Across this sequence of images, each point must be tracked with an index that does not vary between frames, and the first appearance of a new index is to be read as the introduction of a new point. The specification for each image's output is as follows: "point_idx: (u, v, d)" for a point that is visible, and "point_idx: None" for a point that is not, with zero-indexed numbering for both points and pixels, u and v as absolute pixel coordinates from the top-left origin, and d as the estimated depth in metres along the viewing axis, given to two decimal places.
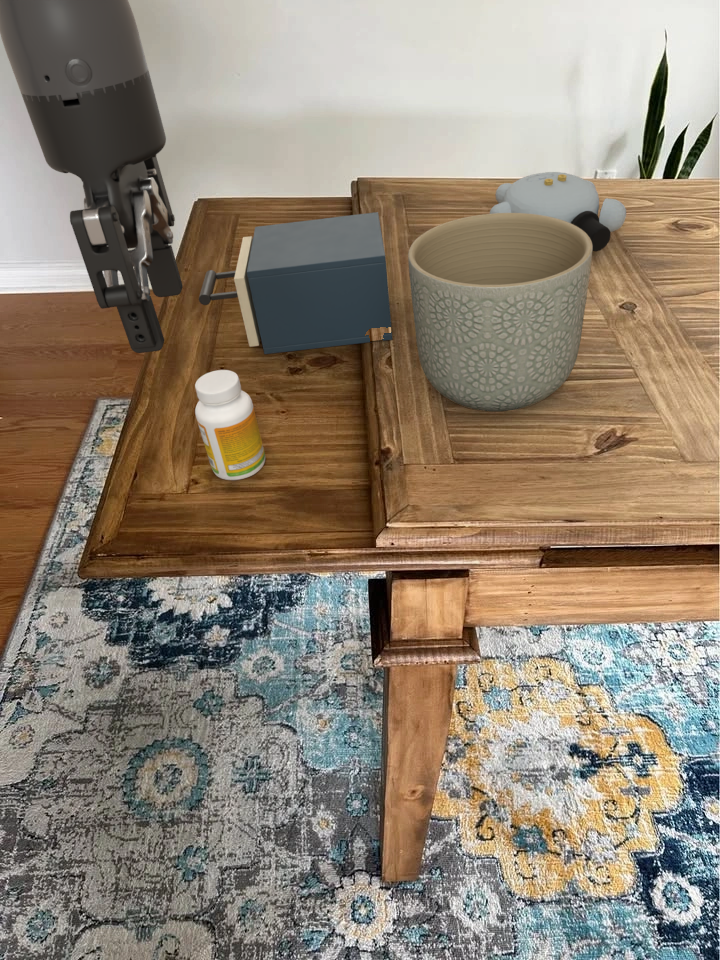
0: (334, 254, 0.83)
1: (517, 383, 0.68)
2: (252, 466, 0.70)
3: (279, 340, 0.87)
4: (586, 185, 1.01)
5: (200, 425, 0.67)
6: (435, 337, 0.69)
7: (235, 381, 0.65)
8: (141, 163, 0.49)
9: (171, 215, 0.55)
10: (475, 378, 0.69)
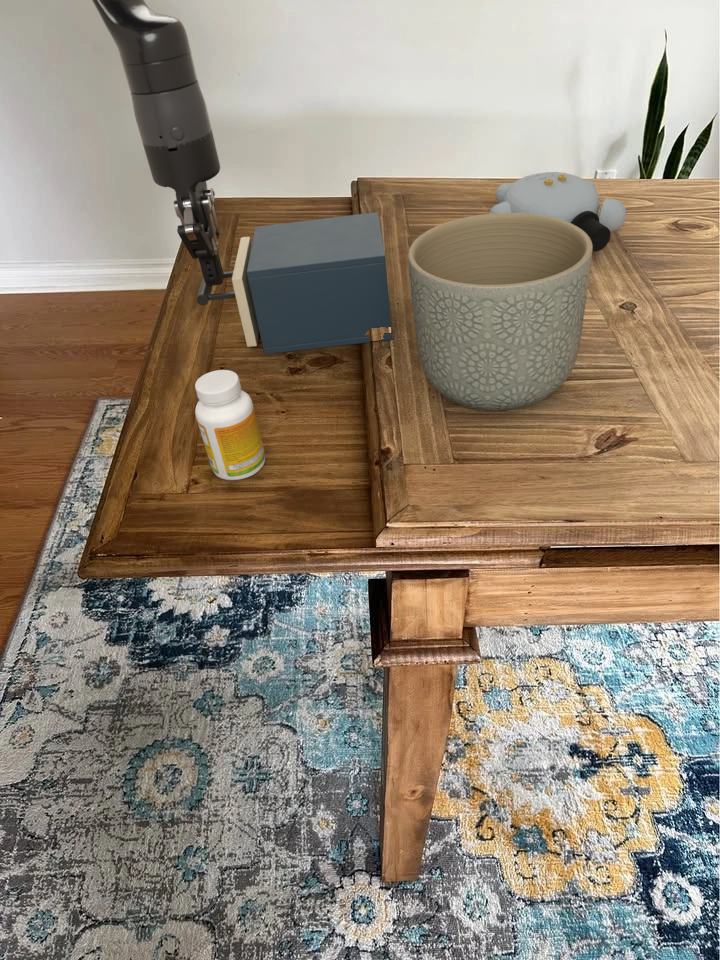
0: (334, 254, 0.83)
1: (517, 383, 0.68)
2: (252, 466, 0.70)
3: (279, 340, 0.87)
4: (586, 185, 1.01)
5: (200, 425, 0.67)
6: (435, 337, 0.69)
7: (235, 381, 0.65)
8: None
9: (217, 231, 0.88)
10: (475, 378, 0.69)
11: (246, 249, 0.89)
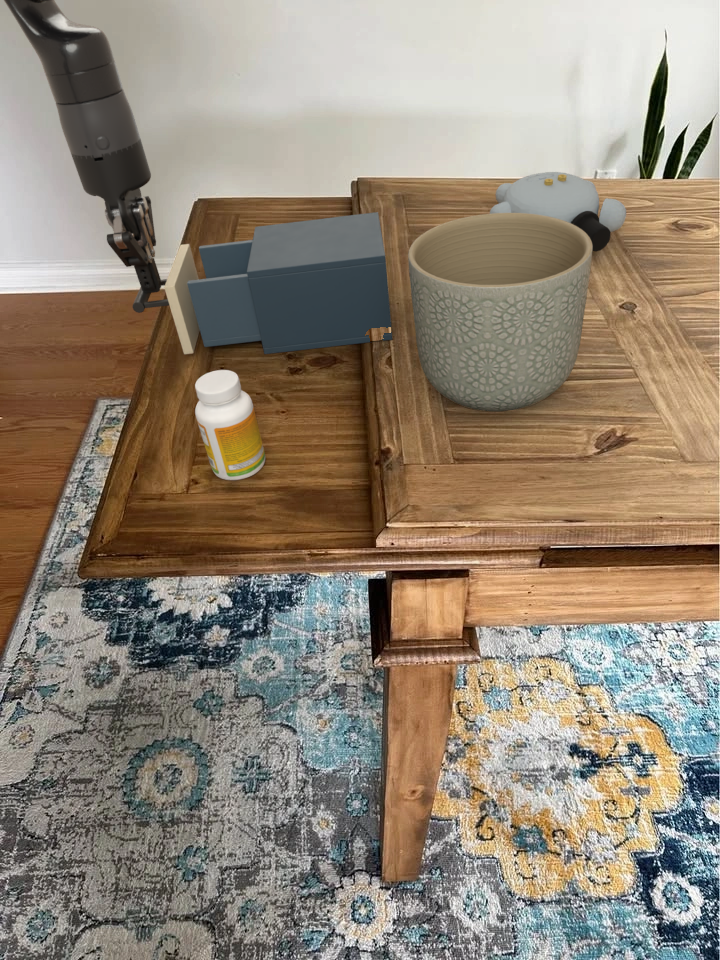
0: (334, 254, 0.83)
1: (517, 383, 0.68)
2: (252, 466, 0.70)
3: (279, 340, 0.87)
4: (586, 185, 1.01)
5: (200, 425, 0.67)
6: (435, 337, 0.69)
7: (235, 381, 0.65)
8: None
9: (154, 238, 0.88)
10: (475, 378, 0.69)
11: (183, 257, 0.89)
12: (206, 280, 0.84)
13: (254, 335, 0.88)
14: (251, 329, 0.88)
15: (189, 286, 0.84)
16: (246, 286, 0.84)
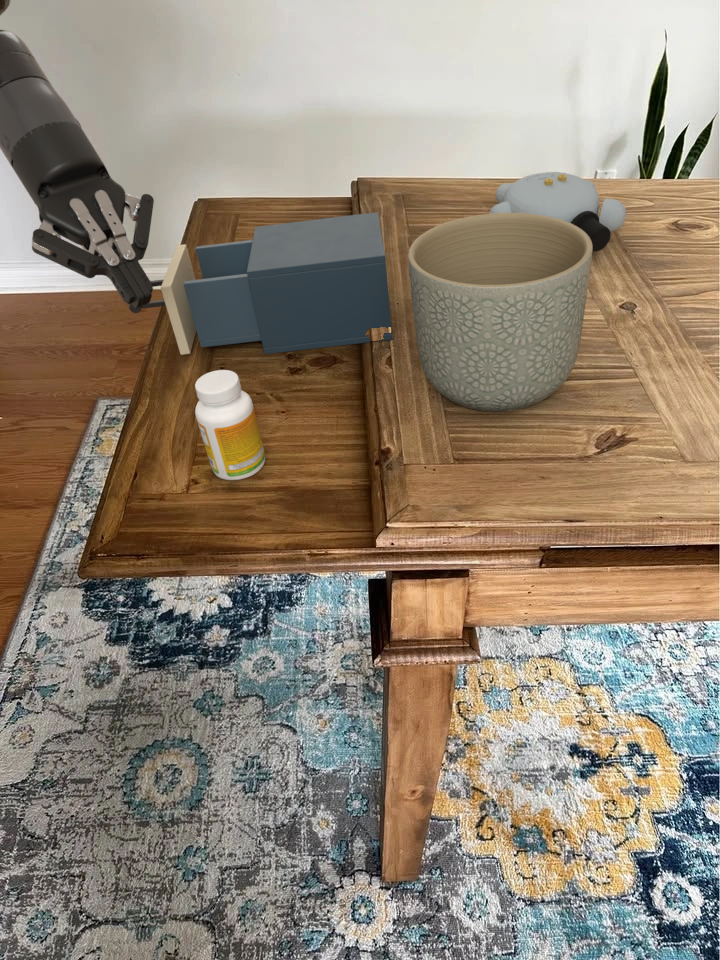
0: (334, 254, 0.83)
1: (517, 383, 0.68)
2: (252, 466, 0.70)
3: (279, 340, 0.87)
4: (586, 185, 1.01)
5: (200, 425, 0.67)
6: (435, 337, 0.69)
7: (235, 381, 0.65)
8: (109, 186, 0.70)
9: (140, 239, 0.70)
10: (475, 378, 0.69)
11: (180, 257, 0.89)
12: (202, 280, 0.84)
13: (251, 335, 0.88)
14: (248, 329, 0.88)
15: (185, 286, 0.84)
16: (243, 287, 0.84)
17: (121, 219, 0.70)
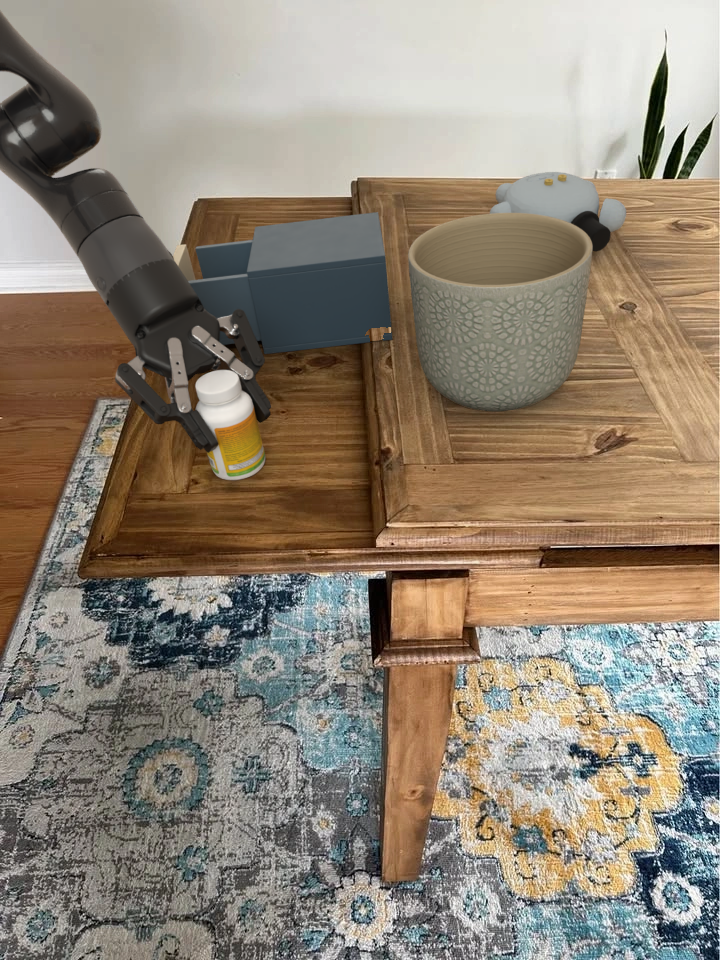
0: (334, 254, 0.83)
1: (517, 383, 0.68)
2: (252, 466, 0.70)
3: (279, 340, 0.87)
4: (586, 185, 1.01)
5: None
6: (435, 337, 0.69)
7: (236, 381, 0.65)
8: (204, 318, 0.68)
9: (257, 357, 0.69)
10: (475, 378, 0.69)
11: (180, 257, 0.89)
12: (202, 280, 0.84)
13: None
14: None
15: None
16: (243, 287, 0.84)
17: None
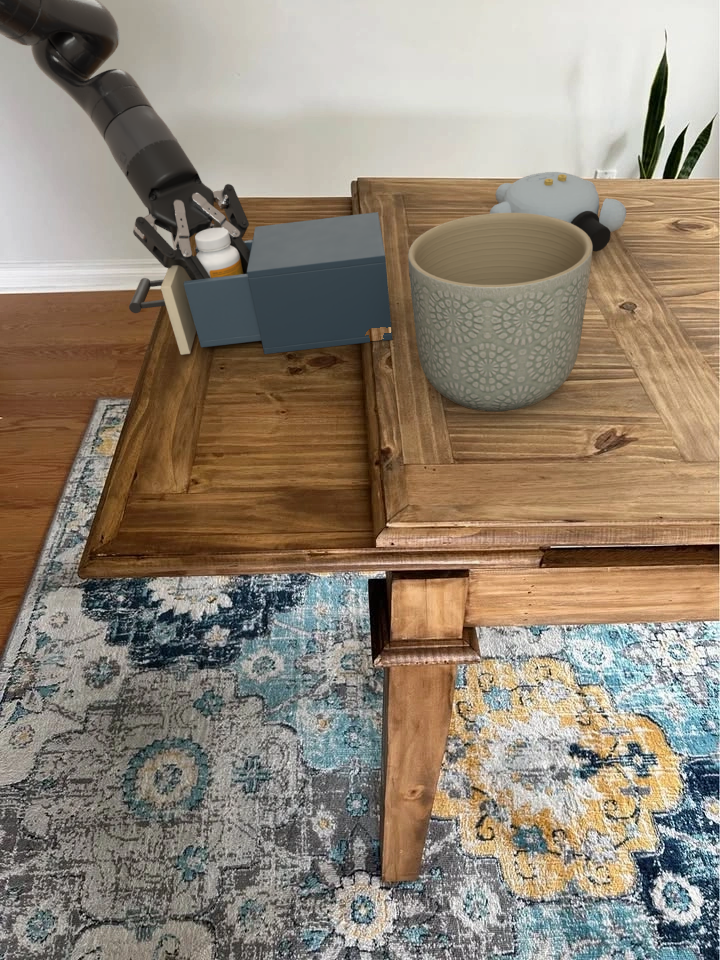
0: (334, 254, 0.83)
1: (517, 383, 0.68)
2: None
3: (279, 340, 0.87)
4: (586, 185, 1.01)
5: None
6: (435, 337, 0.69)
7: (226, 233, 0.85)
8: (201, 189, 0.88)
9: (242, 221, 0.89)
10: (475, 378, 0.69)
11: None
12: (202, 280, 0.84)
13: (251, 335, 0.88)
14: (248, 329, 0.88)
15: (185, 286, 0.84)
16: (243, 287, 0.84)
17: None
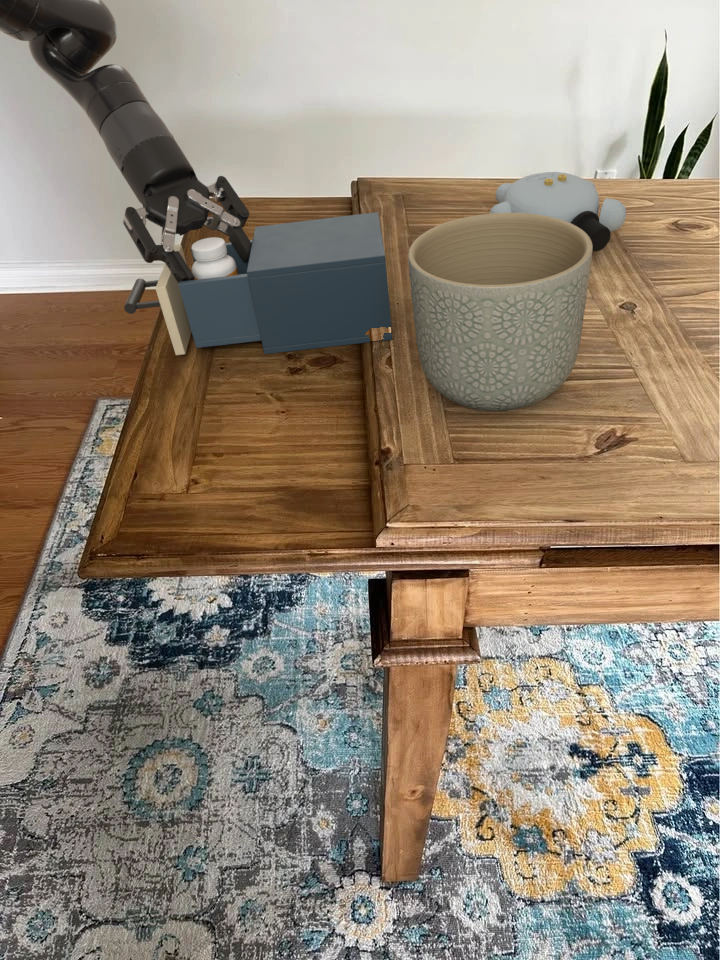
0: (334, 254, 0.83)
1: (517, 383, 0.68)
2: None
3: (279, 340, 0.87)
4: (586, 185, 1.01)
5: (195, 279, 0.87)
6: (435, 337, 0.69)
7: (222, 243, 0.86)
8: (197, 186, 0.87)
9: (243, 211, 0.89)
10: (475, 378, 0.69)
11: None
12: (197, 281, 0.84)
13: (246, 336, 0.88)
14: (243, 330, 0.88)
15: (180, 287, 0.84)
16: (237, 287, 0.84)
17: (207, 212, 0.87)
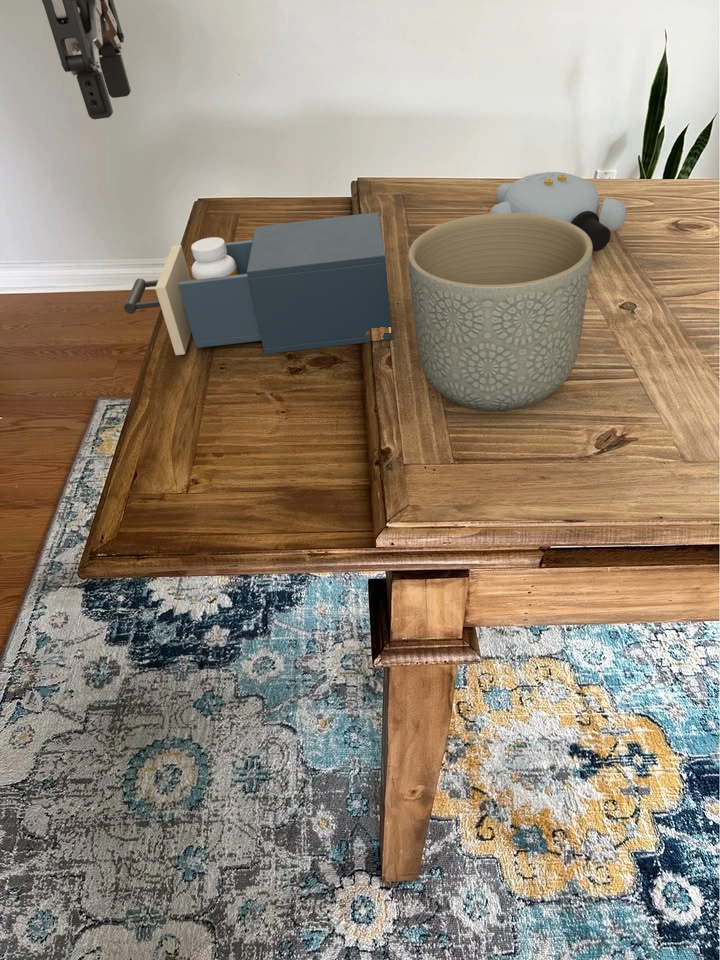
0: (334, 254, 0.83)
1: (517, 383, 0.68)
2: None
3: (279, 340, 0.87)
4: (586, 185, 1.01)
5: (195, 279, 0.87)
6: (435, 337, 0.69)
7: (222, 243, 0.86)
8: None
9: (121, 33, 0.74)
10: (475, 378, 0.69)
11: (175, 258, 0.89)
12: (197, 281, 0.84)
13: (245, 336, 0.88)
14: (242, 330, 0.88)
15: (180, 287, 0.84)
16: (237, 287, 0.84)
17: None
